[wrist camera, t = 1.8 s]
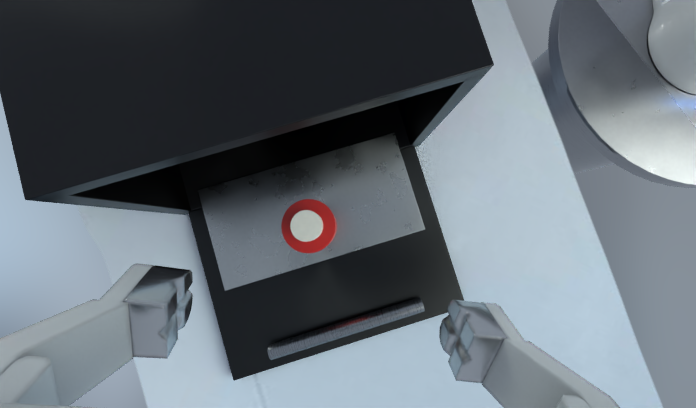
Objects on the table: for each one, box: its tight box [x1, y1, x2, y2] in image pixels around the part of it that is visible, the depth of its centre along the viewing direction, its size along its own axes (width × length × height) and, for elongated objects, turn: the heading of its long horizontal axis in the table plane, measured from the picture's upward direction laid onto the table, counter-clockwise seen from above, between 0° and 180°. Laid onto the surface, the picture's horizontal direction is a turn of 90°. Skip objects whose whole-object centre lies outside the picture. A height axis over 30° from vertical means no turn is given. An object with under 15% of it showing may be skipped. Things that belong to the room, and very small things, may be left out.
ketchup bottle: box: [281, 199, 337, 253], centre depth 32 cm, size 5×5×11 cm
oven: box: [0, 0, 494, 380], centre depth 30 cm, size 42×30×20 cm
